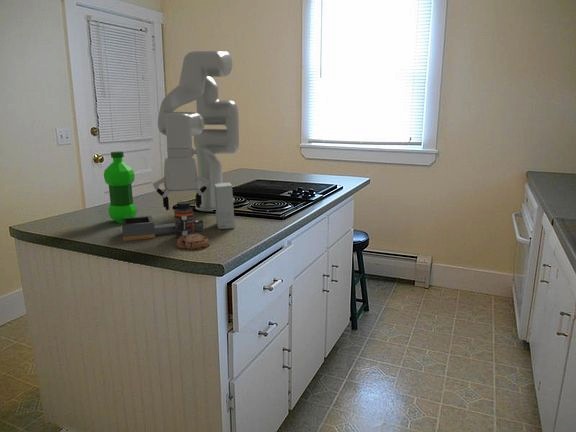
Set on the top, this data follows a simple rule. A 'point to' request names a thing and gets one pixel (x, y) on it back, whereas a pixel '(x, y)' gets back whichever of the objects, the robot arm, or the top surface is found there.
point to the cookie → (193, 242)
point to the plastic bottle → (120, 188)
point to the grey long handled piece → (149, 228)
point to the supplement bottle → (184, 219)
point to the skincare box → (224, 205)
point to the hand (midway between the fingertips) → (182, 208)
